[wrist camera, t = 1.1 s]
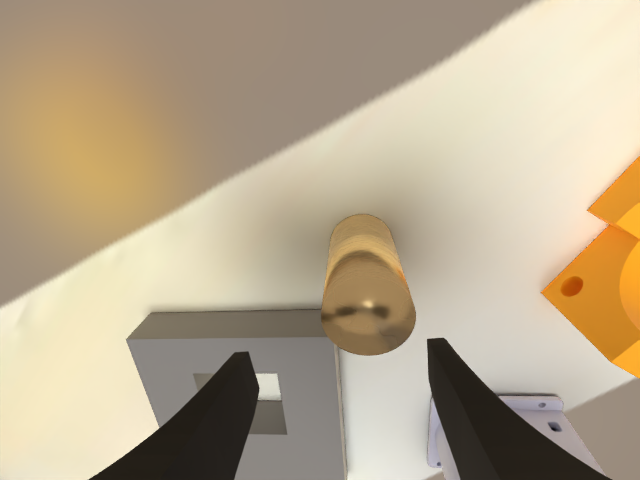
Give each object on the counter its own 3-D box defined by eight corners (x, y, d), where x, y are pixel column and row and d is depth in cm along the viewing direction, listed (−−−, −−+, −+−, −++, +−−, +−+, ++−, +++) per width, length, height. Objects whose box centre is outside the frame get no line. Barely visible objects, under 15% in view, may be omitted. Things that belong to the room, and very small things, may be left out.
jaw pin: (392, 212, 20) (417, 275, 13) (392, 269, 22) (414, 355, 15) (328, 215, 21) (317, 278, 13) (332, 271, 22) (324, 355, 15)
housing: (335, 309, 23) (333, 336, 21) (347, 472, 30) (347, 510, 28) (150, 313, 25) (125, 339, 22) (202, 468, 32) (188, 503, 29)
